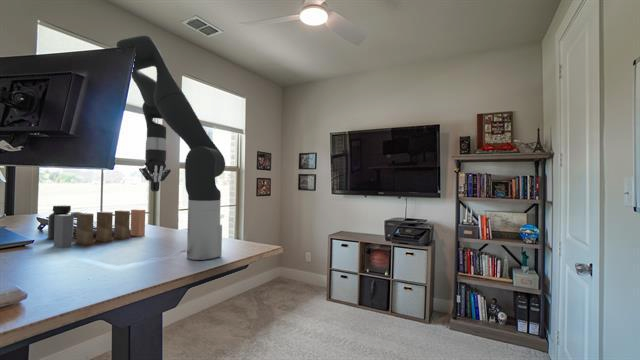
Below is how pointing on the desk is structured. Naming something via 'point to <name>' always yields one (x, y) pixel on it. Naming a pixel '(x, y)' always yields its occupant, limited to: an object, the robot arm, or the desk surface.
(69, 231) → the end domino
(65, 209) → the supplement bottle
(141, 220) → the domino
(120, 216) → the domino
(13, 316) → the desk surface
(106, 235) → the domino
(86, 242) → the domino
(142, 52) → the robot arm
